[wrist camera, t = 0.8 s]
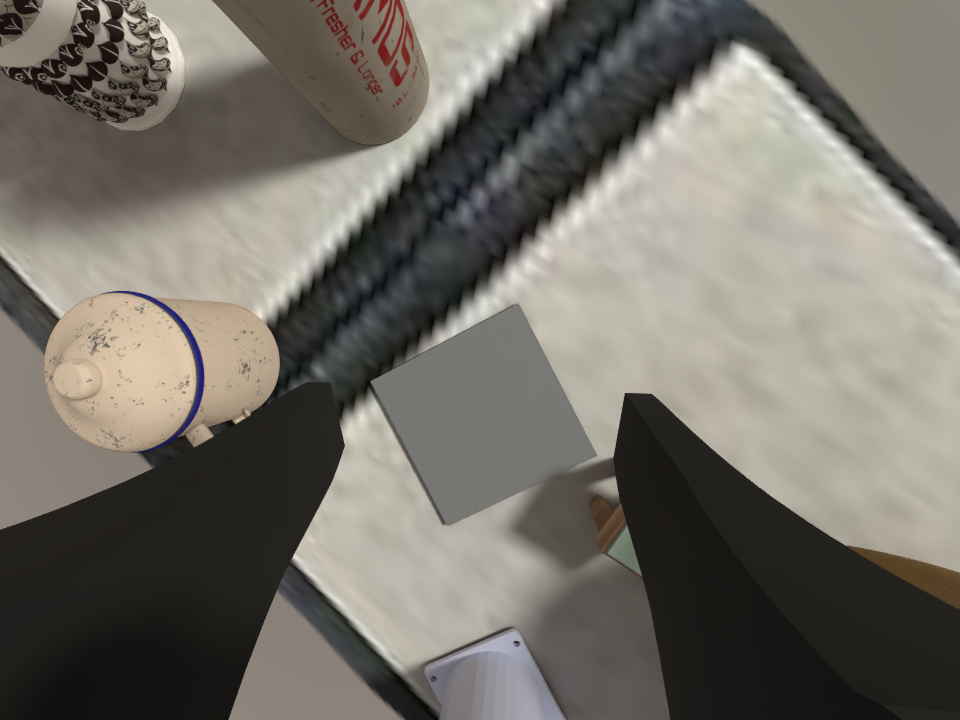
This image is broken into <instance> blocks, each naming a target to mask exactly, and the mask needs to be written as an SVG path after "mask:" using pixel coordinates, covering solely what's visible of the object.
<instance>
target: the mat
mask: <svg viewBox="0 0 960 720" xmlns="http://www.w3.org/2000/svg"><path fill="white" fill-rule="evenodd" d="M370 382H371V384H372V386H373V387H374V389H375V391H376V393H377V395H378V397H379V399H380V401H381V402H382V404H383V406H384V408H385V410H386V412H387V414H388V416H389V417H390V419H391V421H392V423H393V425H394V427H395V429H396V431H397V433H398V434H399V436H400V438H401V440H402V442H403V444H404V446H405V448H406V449H407V451H408V453H409V455H410V457H411V459H412V461H413V463H414V464H415V466H416V468H417V470H418V472H419V474H420V476H421V478H422V479H423V481H424V483H425V485H426V487H427V489H428V491H429V493H430V495H431V496H432V498H433V500H434V502H435V504H436V506H437V508H438V510H439V511H440V513H441V515H442V517H443V519H444V521H445V523H446V525H447V526H449V525H451V524H454V523H456V522H458V521H460V520H462V519H464V518H466V517H468V516H471V515H473V514H475V513H477V512H479V511H481V510H483V509H485V508H488V507H490V506H492V505H494V504H496V503H498V502H500V501H502V500H505V499H507V498H509V497H511V496H513V495H515V494H517V493H519V492H522V491H524V490H526V489H528V488H530V487H532V486H534V485H536V484H539V483H541V482H543V481H545V480H547V479H549V478H551V477H553V476H556V475H558V474H560V473H562V472H564V471H566V470H568V469H570V468H572V467H575V466H577V465H579V464H581V463H583V462H585V461H587V460H589V459H592V458H594V457H596V456H597V454H596V452H595V451H594V449H593V447H592V445H591V443H590V441H589V439H588V437H587V435H586V433H585V431H584V429H583V427H582V425H581V423H580V422H579V420H578V418H577V416H576V414H575V412H574V410H573V408H572V406H571V404H570V402H569V400H568V398H567V396H566V394H565V393H564V391H563V389H562V387H561V385H560V383H559V381H558V379H557V377H556V375H555V373H554V371H553V369H552V367H551V365H550V364H549V362H548V360H547V358H546V356H545V354H544V352H543V350H542V348H541V346H540V344H539V342H538V340H537V338H536V336H535V335H534V333H533V331H532V329H531V327H530V325H529V323H528V321H527V319H526V317H525V315H524V313H523V311H522V309H521V307H520V306H519V304H516V305H514V306H512V307H510V308H508V309H506V310H504V311H503V312H501V313H499V314H497V315H495V316H493V317H491V318H489V319H487V320H486V321H484V322H482V323H480V324H478V325H476V326H474V327H472V328H470V329H469V330H467V331H465V332H463V333H461V334H459V335H457V336H455V337H453V338H451V339H450V340H448V341H446V342H444V343H442V344H440V345H438V346H436V347H434V348H433V349H431V350H429V351H427V352H425V353H423V354H421V355H419V356H417V357H416V358H414V359H412V360H410V361H408V362H406V363H404V364H402V365H400V366H399V367H397V368H395V369H393V370H391V371H389V372H387V373H385V374H383V375H382V376H380V377H378V378H376V379H374V380H372V381H370Z"/></svg>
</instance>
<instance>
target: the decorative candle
mask: <svg viewBox="0 0 960 720" xmlns="http://www.w3.org/2000/svg"><path fill="white" fill-rule="evenodd" d="M146 9H147V8H146V5H145V3H144V2H142V1H136V0H130V1H129V0H0V71H1V70H3V72H4V73H5V74H6V75H7V76H8V77H9V78H11V79H13V80H16V81H21V82H22V83H24V84H27V85H31V84H33V86H34V88H35V89H36V90H37V91H39V92H40V93H43V94H46V95H50V96H51V97H53V98H54V99H55V100H58V101H61V102H63V103H64V104H65V105H67V106H68V107H70V108H72V109H74V110H77V111H81V112H83V113H86V114H87V115H89V116H90V117H91V118H93V119H95V120H97V121H101V122H106V123H108V124H110V125H112V126H114V127H116V128H118V129H120V130H127V131H143V130H146V129H148V128H150V127H153V126H155V125H157V124H160V123H162V122H163V121H164V120H165V118H166V117H167V116H168V115H169V114H170V113H171V112H172V111H173V110H174V109H175V108H176V107H177V104H178V102H179V99H180V96H181V94H182V91H183V88H184V86H185V59H184V56H183V53H182V50H181V47H180V45H179V42H178V39H177V37H176V36H175V35H174V34H173V33H172V31H171V30H170V29H169V28H168V27H167V26H166V25H165V23H164V22H163V21H162V20H161V19H160V18H159V17H157V16H154V15H152V14H150V13H148V12H146Z"/></svg>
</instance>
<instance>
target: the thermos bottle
mask: <svg viewBox="0 0 960 720" xmlns="http://www.w3.org/2000/svg"><path fill="white" fill-rule="evenodd" d="M212 1H213V2H214V3H215V4H216V5H217V6H218V7H219V8H220V9H221V10H222V11H223V12H224V13H225V14H226V15H227V16H228V17H229V19H230V20H231V21H232V22H233V23H234V24H235V25H236V26H237V27H238V28H239V29H240V30H241V31H242V32H243V33H244V34H245V35H246V36H247V38H248V39H249V40H250V41H251V42H252V43H253V44H254V45H255V46H256V47H257V48H258V49H259V50H260V51H261V52H262V53H263V54H264V55H265V57H266V58H267V59H268V60H269V61H270V62H271V63H272V64H273V65H274V66H275V67H276V68H277V69H278V70H279V71H280V72H281V73H282V74H283V76H284V77H285V78H286V79H287V80H288V81H289V82H290V83H291V84H292V85H293V86H294V87H295V88H296V89H297V90H298V91H299V92H300V93H301V95H302V96H303V97H304V98H305V99H306V100H307V101H308V102H309V103H310V104H311V105H312V106H313V107H314V108H315V109H316V110H317V111H318V112H319V114H320V115H321V116H322V117H323V118H324V119H325V120H326V121H327V122H328V123H329V124H330V125H331V126H332V127H333V128H334V129H335V130H336V131H337V132H338V133H339V134H341V135H342V136H344V137H346V138H347V139H349V140H352V141H354V142H357V143H361V144H368V145H373V144H382V143H386V142H390V141H392V140H394V139H396V138H398V137H400V136H402V135H403V134H404V133H406V132H407V131H408V130H409V129H410V128H411V127H412V126H413V125H414V124H415V122H416V121H417V120H418V118H419V117H420V115H421V113H422V111H423V109H424V106H425V104H426V101H427V97H428V91H429V73H428V69H427V64H426V61H425V58H424V55H423V52H422V50H421V47H420V44H419V41H418V38H417V35H416V33H415V30H414V27H413V24H412V21H411V19H410V16H409V13H408V10H407V7H406V5H405V2H404V0H212Z"/></svg>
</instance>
